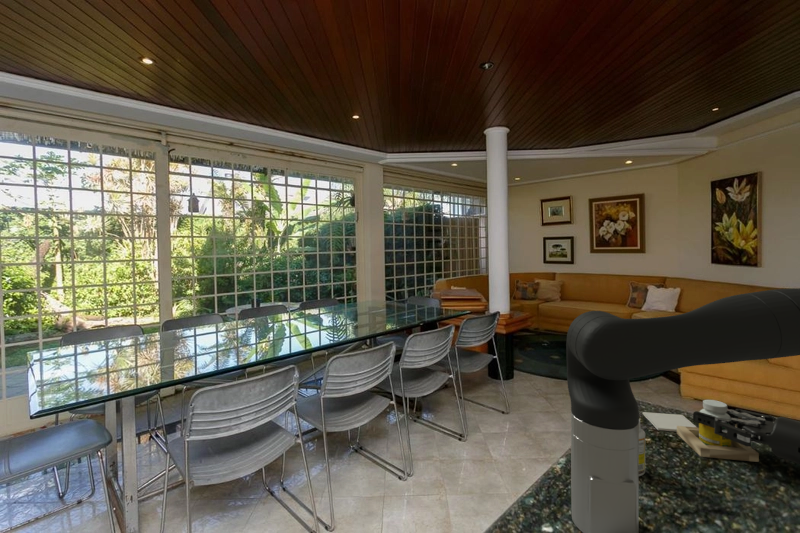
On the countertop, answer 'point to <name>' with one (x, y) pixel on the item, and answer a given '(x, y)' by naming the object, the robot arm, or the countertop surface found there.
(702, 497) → the countertop surface
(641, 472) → the supplement bottle
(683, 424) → the coaster
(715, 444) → the supplement bottle
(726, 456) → the socket block
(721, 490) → the countertop surface
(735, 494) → the countertop surface
